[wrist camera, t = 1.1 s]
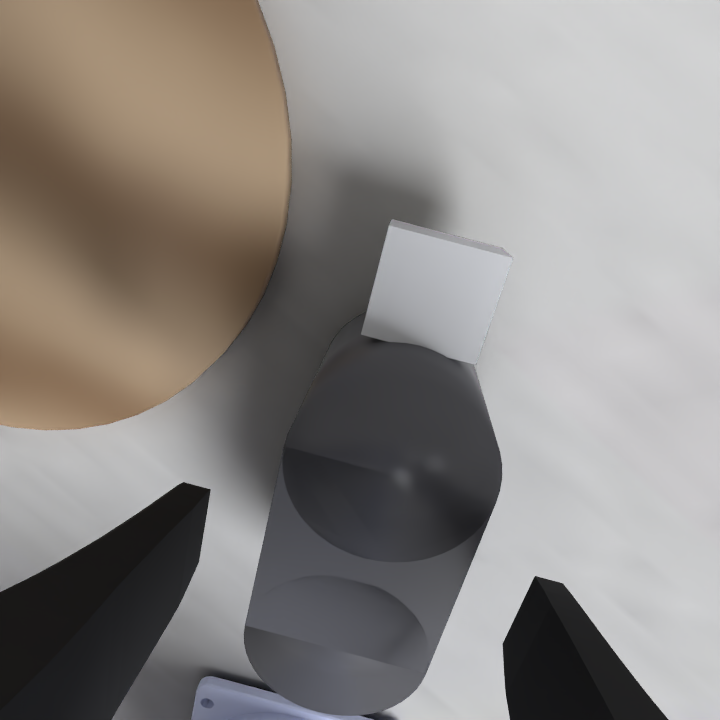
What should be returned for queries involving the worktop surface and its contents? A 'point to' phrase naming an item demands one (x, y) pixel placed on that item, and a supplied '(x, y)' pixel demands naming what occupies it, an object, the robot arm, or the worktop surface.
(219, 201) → the round copper disc
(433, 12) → the worktop surface
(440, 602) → the dark grey rounded block
